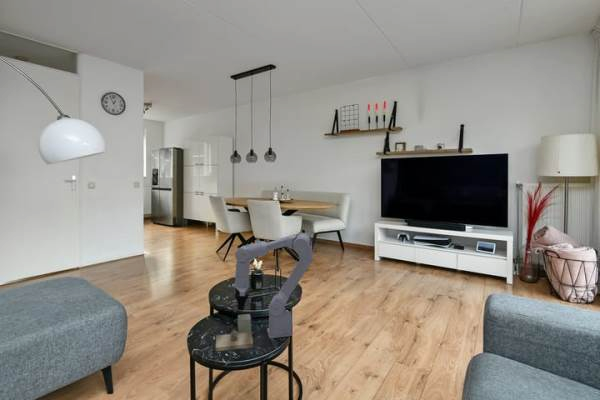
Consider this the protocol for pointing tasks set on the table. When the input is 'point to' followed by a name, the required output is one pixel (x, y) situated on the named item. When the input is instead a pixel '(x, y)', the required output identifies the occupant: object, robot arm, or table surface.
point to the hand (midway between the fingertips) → (240, 305)
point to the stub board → (234, 341)
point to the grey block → (244, 323)
